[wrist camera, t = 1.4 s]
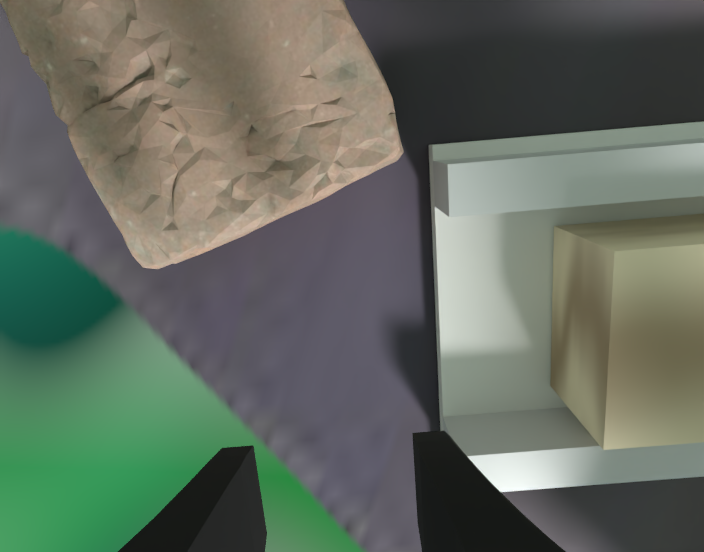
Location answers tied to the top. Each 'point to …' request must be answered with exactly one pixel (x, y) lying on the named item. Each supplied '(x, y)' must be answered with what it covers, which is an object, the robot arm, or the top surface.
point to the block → (631, 329)
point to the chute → (540, 291)
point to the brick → (209, 110)
